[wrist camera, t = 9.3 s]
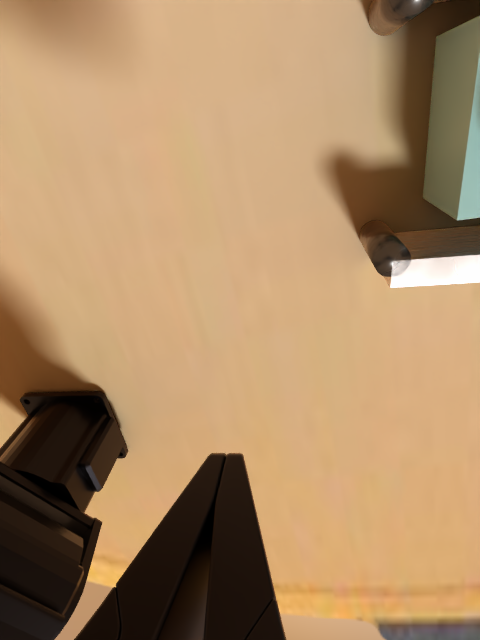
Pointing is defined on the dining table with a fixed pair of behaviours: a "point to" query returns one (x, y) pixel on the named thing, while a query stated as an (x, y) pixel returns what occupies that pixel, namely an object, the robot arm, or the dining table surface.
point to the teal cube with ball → (455, 124)
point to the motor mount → (425, 245)
